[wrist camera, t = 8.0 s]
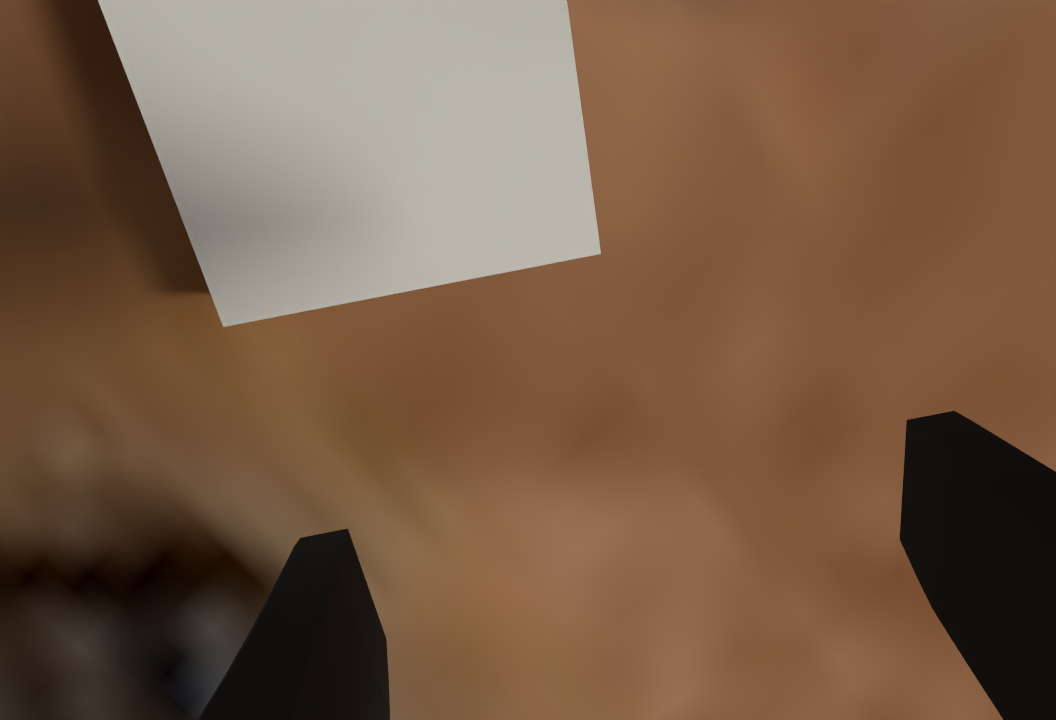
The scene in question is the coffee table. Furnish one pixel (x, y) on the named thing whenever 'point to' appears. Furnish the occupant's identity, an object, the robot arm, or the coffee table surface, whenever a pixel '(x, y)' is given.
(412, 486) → the coffee table surface
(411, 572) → the coffee table surface
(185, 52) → the stand
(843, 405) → the coffee table surface
